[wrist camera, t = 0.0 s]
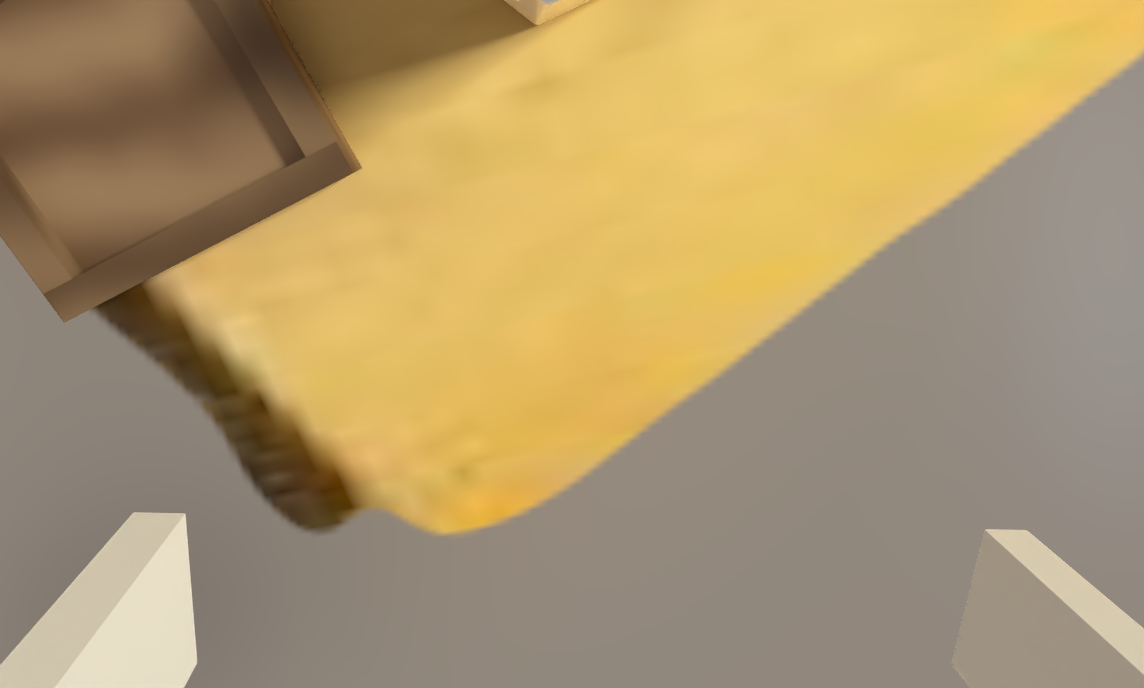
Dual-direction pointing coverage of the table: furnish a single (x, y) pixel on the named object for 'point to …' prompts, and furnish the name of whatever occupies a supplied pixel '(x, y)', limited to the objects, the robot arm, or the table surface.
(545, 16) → the jar
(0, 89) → the brown wooden tray
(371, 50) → the table surface
